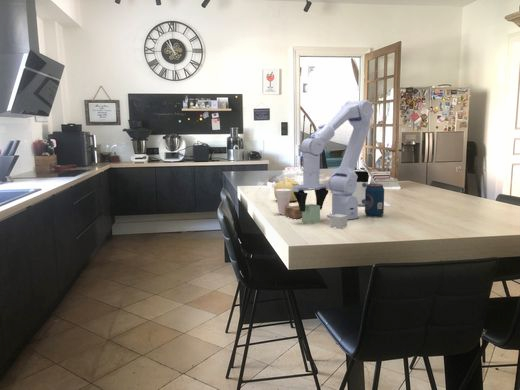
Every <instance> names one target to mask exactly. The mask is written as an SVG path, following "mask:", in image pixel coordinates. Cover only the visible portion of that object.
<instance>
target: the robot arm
mask: <svg viewBox="0 0 520 390" xmlns="http://www.w3.org/2000/svg"><path fill="white" fill-rule="evenodd" d="M373 113H374V108H373V106H372V103H371V102H370V101H369V100H368V99H363V100H356V101H355V100H353V101H351V100H350V101H347V102H345V103H344V104H343V105H342V106H341V108H340V110H339V111H338V112H337V113H336V114H335V116H334V117H333V118H332V119H331V120H330V121H329V122H328V124H327V123H323V124H320V125H319V126H318V129H316V131H315V132H313V133H311V134H310V136H309V138H304V140H303V141H302V142H301V145H300V146H299V150H300V152H301V154H302V161H303V162H302V163H303V164H302V165H303V167H302V168H303V169H302V171H303V172H302V176H303V177H302V179H303V180H302V184H300V185H297V186H293V191H294V195H295V197H296V201H297V204H298V205H299V209H300V211H302V212H305V205H306V201H307V197H308V193H307V192H306V191H314V193H315V200H316V203H315V205H319V206H320V211H321V210H322V209H323V205H324V202H325V199H326V197H327V196H328V194H329V190H330V193H331V213H330V214H327V215H326V216H327V217H329V218H331V215H335V214H341V215H347V221H348V220H354V219H355V220H356V219H359V218H360V216H359V215H358V214H359V213H358V211H359V208H358V207H359V206H358V200H357V198H356V197H355V196H353V195H352V194H353V192H354V191H355V189H356V182H357V178H358V176H357V175H356V173H355V172H354V170H356V167H357V165H358V161H359V158H360V157H361V153H362V150H363V147H364V145H365V141H366V138H367V136H368V133H369V131H370V125H371V119H372V116H373ZM347 121H348V123H349V124H350V125H351V126H352V127H353V129H352V132H351V135H350V138H349V141H348V144H347V146H346V149H345V151H344V154H343V158H342V160H341V163H340V165H339V167H338V168H335V170H334V171H333V173H332V175H331V176H330V177H329V179H328V181H327V183H326V182H324V183H320V170H321V169H320V168H321V167H320V166H321V165H320V162H321V161H320V158H321V154H322V153H323V152H324V149H325V146H326V144H328V143H329V142H330V140H332V139H333V138H334V136H335V135H336V134H335V131H337V129H339V128H340V127H341V126H342V125H343V124H344V123H346V122H347Z"/></svg>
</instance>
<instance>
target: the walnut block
mask: <svg viewBox="0 0 520 390" xmlns="http://www.w3.org/2000/svg"><path fill="white" fill-rule="evenodd" d="M285 216H286V217H285ZM284 217H285V218H288V217H289V218H288V219H291V218H292V220H294V219H296V220H302V219H301V218H302V211H300V209H299V204H298V205H291V206H290V205H289V206H288V207H285V215H284Z"/></svg>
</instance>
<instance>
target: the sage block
mask: <svg viewBox="0 0 520 390" xmlns="http://www.w3.org/2000/svg"><path fill="white" fill-rule="evenodd" d="M301 220H302V222H303V221H304V222H303V223H306V222H308V224H315V223H314V222H317V223H320V222H321V210H320V206H319V205H316V203H315V204H314V203H309V204H305V212H302V219H301Z"/></svg>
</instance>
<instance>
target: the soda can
mask: <svg viewBox="0 0 520 390" xmlns="http://www.w3.org/2000/svg"><path fill="white" fill-rule="evenodd" d="M384 201H385V187H384V184H379V183H368V184H367V187H366V189H365V206H364V214H365V215H366V217H369V218H381V217H382V216H383V215H384V212H385V209H384V208H385V206H384Z"/></svg>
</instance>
